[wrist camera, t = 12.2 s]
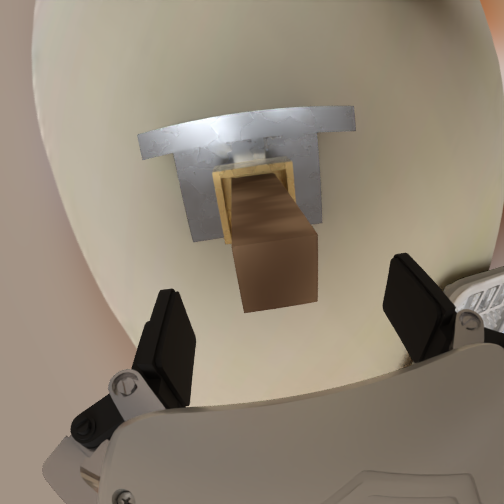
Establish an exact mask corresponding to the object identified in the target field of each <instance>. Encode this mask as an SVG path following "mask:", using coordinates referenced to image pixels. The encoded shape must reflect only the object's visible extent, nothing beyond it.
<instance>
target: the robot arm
mask: <svg viewBox="0 0 504 504" xmlns="http://www.w3.org/2000/svg"><path fill="white" fill-rule="evenodd" d="M455 309H456V306H455V305H454V304H453V303H452V302H451V300H450V299H449V298H448V297H447V296H446V295H445V293H444V292H443V291H442V290H441V289H440V288H439V287H438V285H437V284H436V283H435V282H434V281H433V280H432V279H431V278H430V277H429V275H428V274H427V273H426V272H425V271H424V270H423V269H422V268H421V267H420V266H419V265H418V264H417V263H416V262H415V261H414V260H413V259H412V258H411V257H410V255H409V254H407V253H401V254H396V255H394V257H393V258H392V259H391V262H390V268H389V274H388V280H387V285H386V290H385V296H384V300H383V310H384V312H385V314H386V316H387V317H388V319H389V321H390V322H391V324H392V326H393V327H394V329H395V331H396V332H397V334H398V336H399V337H400V339H401V341H402V343H403V344H404V346H405V348H406V350H407V351H408V353H409V355H410V357H411V359H412V360H413V362H414V363H416V364H414V365H411V366H408V367H405V368H402V369H399V370H396V371H393V372H390V373H387V374H384V375H381V376H377V377H374V378H370V379H367V380H363V381H360V382H356V383H352V384H348V385H344V386H340V387H336V388H332V389H327V390H323V391H318V392H313V393H308V394H303V395H297V396H292V397H286V398H279V399H273V400H266V401H258V402H249V403H239V404H229V405H217V406H202V407H186V406H189V404H190V396H191V385H192V375H193V365H194V356H195V347H196V337H195V334H194V331H193V329H192V326H191V323H190V321H189V318H188V316H187V313H186V310H185V307H184V305H183V302H182V299H181V296H180V294H179V292H178V291H177V292H175V290H174V289H165V290H160V292H159V294H158V297H157V300H156V303H155V306H154V309H153V312H152V315H151V318H150V321H148V322H146V324H145V326H144V329H143V332H142V335H141V339H140V342H139V345H138V348H137V352H136V355H135V358H134V362H133V365H132V369H126V370H122V371H120V372H118V373H116V374H115V375H114V376H113V377H112V378H111V380H110V382H109V387H108V390H109V394H108V395H107V396H105V397H104V398H102V399H101V400H100V401H98V402H97V403H95V404H94V405H92V406H91V407H89V408H88V409H86V410H85V411H83V412H82V413H81V414H79V415H78V416H77V417H76V418H75V419H74V420H73V422H72V425H71V435H70V437H68V436H66V437H65V438H64V439H63V440H62V441H61V443H60V444H59V445H58V446H57V448H56V449H55V450H54V451H53V452H52V454H51V455H50V456H49V457H48V458H47V460H46V461H45V463H44V464H43V468H42V472H43V476H44V478H45V480H46V481H47V482H48V483H49V485H50V486H51V487H52V488H53V489H54V491H55V492H56V493H57V494H58V495H59V497H60V498H61V499H62V500H63V501H64V502H65V503H66V504H504V333H501V332H498V331H495V330H492V329H489V328H486V327H484V322H483V319H482V318H481V316H480V315H479V314H478V313H476V312H475V311H473V310H470V309H463V310H460V311H459V312H458V313H457V312H456V311H455Z"/></svg>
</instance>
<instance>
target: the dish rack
mask: <svg viewBox="0 0 504 504" xmlns="http://www.w3.org/2000/svg"><path fill="white" fill-rule="evenodd" d="M443 292H444V293H445V295H446V296H447V297H448V298H449V299H450V300H451V302H452V303H453V304H454V305H455V306H456V309H455V311H456V312H457V313H458V312H459V311H460V310H463V309H470V310H473V311H475V312H476V313H478V314H479V315H480V316H481V318H482V319H483V322H484V327H486V328H489V329H492V330H495V331H498V332H501V333H502V331H503V330H504V266H503V267H499V268H496V269H493V270H489V271H486V272H482V273H479V274H475V275H472V276H468V277H465V278H462V279H459V280H457V281H455V282H454V283H452V284H449V285H447V286H446V287H445V288H444V291H443ZM414 364H416V363H414V362H412V364H411V365H414Z"/></svg>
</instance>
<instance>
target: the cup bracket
mask: <svg viewBox="0 0 504 504" xmlns="http://www.w3.org/2000/svg"><path fill="white" fill-rule="evenodd" d="M341 131H356V127H355V114H354V106H310V107H292V108H279V109H268V110H259V111H250V112H243V113H236V114H229V115H223V116H217V117H211V118H205V119H200V120H195V121H190V122H186V123H181V124H177V125H172V126H168V127H164V128H160V129H156V130H152V131H149V132H145V133H141V134H138V135H137V136H138V141H139V146H140V151H141V155H142V160H145V159H149V158H153V157H157V156H161V155H166V154H170V153H173V154H174V159H175V164H176V169H177V174H178V179H179V183H180V188H181V192H182V197H183V201H184V206H185V210H186V214H187V219H188V223H189V227H190V231H191V235H192V239H193V242H198V241H204V240H210V239H217V238H223V237H224V239H225V244H232V225H231V179H232V178H238V177H245V176H252V175H260V174H268V173H274V174H275V175H276V176H277V178H278V179H279V180H280V182H281V183H282V184H283V186H284V187H285V189H286V190H287V191H288V193H289V194H290V196H291V197H292V198H293V200H294V201H295V203H296V204H297V205H298V207H299V208H300V210H301V211H302V213H303V214H304V215H305V217H306V218H307V220H308V221H309V223H310V224H318V223H322V203H321V182H320V166H319V152H318V140H317V133H318V132H341Z"/></svg>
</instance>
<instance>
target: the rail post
mask: <svg viewBox="0 0 504 504" xmlns="http://www.w3.org/2000/svg"><path fill="white" fill-rule="evenodd" d="M231 225H232V251H233V257H234V262H235V268H236V273H237V278H238V284H239V289H240V294H241V299H242V304H243V309H244V313H249V312H256V311H262V310H269V309H276V308H282V307H288V306H294V305H300V304H306V303H311V302H317V301H318V234H317V233H316V231H315V230H314V229H313V227H312V226H311V224H310V223H309V221H308V220H307V218H306V217H305V215H304V214H303V213H302V211H301V210H300V208H299V207H298V205H297V204H296V203H295V201H294V200H293V198H292V197H291V196H290V194H289V193H288V191H287V190H286V189H285V187H284V186H283V184H282V183H281V182H280V180H279V179H278V178H277V176H276V175H275V174H274V173H268V174H260V175H252V176H245V177H238V178H232V179H231Z"/></svg>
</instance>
